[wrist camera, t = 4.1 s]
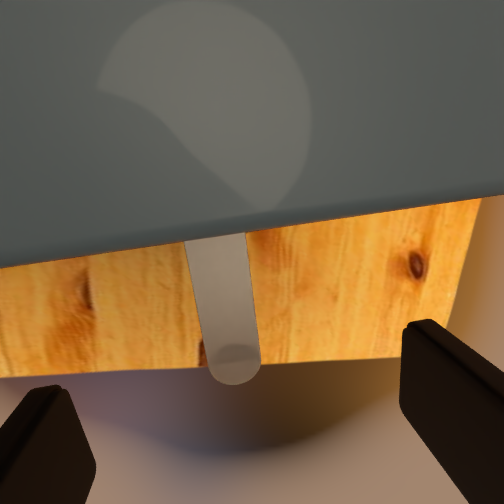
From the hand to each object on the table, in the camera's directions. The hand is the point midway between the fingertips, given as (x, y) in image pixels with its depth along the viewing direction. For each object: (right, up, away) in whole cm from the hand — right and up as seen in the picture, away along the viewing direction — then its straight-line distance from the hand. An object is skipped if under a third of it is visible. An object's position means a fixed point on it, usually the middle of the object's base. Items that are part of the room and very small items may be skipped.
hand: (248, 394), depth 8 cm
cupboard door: (-11, +7, +15) cm, 20 cm away
